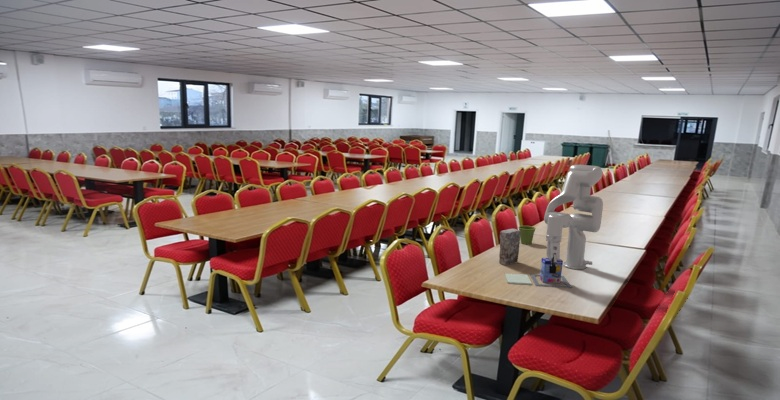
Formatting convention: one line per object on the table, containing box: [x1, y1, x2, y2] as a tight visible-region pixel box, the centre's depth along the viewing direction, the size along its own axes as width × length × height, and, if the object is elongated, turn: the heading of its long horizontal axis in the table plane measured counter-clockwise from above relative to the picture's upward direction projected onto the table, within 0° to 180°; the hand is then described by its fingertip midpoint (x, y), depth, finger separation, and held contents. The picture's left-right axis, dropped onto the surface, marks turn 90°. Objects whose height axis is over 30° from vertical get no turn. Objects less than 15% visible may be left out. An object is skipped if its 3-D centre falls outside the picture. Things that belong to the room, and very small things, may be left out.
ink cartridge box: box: [539, 257, 564, 284], centre depth 251 cm, size 10×6×14 cm, turn 95°
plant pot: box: [518, 225, 537, 245], centre depth 330 cm, size 12×12×11 cm
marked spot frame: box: [529, 273, 573, 289], centre depth 253 cm, size 18×18×1 cm
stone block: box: [498, 228, 521, 266], centre depth 282 cm, size 13×7×20 cm, turn 135°
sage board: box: [504, 273, 533, 286], centre depth 253 cm, size 12×14×1 cm
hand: (551, 270), depth 252 cm, fingers open, 6 cm apart
